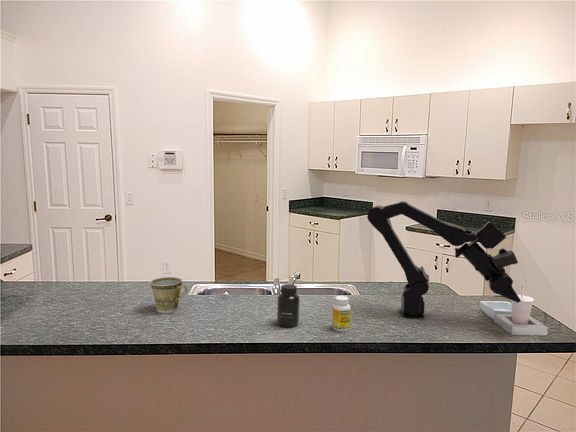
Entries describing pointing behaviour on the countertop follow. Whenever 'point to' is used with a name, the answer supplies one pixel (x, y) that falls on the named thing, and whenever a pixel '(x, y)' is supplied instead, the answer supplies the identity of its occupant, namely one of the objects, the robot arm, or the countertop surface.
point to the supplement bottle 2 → (341, 314)
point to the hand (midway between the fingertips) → (516, 296)
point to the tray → (495, 308)
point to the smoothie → (522, 309)
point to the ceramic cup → (167, 293)
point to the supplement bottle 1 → (288, 306)
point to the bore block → (520, 326)
